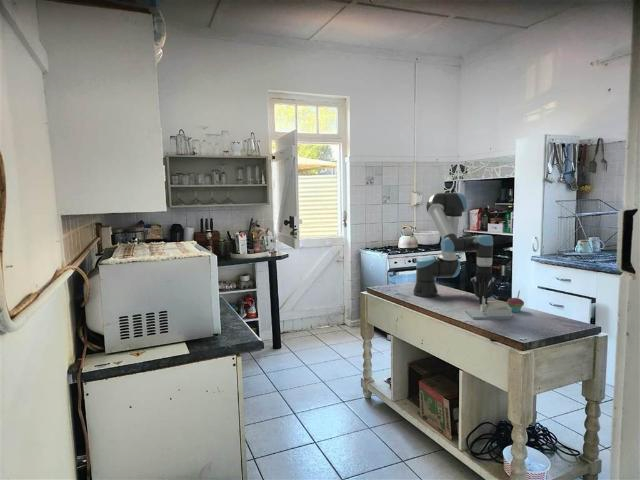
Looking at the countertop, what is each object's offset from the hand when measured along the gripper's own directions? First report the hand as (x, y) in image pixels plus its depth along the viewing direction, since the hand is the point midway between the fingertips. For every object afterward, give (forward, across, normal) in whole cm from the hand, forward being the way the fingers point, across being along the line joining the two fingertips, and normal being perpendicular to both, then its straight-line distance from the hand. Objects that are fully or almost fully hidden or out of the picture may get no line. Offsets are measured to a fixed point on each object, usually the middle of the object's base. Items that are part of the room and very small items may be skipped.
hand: (482, 310), depth 215 cm
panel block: (+2, +7, 0) cm, 7 cm away
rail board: (+3, +3, 0) cm, 4 cm away
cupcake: (+3, +20, +10) cm, 22 cm away
